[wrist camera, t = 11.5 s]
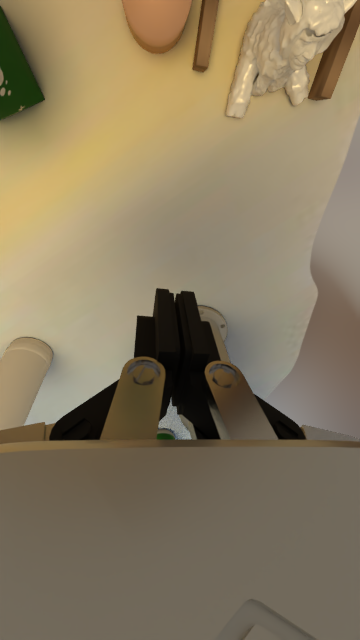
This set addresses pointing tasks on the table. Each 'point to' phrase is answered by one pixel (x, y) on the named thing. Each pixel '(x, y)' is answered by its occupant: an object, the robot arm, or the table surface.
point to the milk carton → (15, 75)
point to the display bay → (329, 62)
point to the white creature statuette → (283, 48)
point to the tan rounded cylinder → (156, 22)
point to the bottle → (21, 379)
